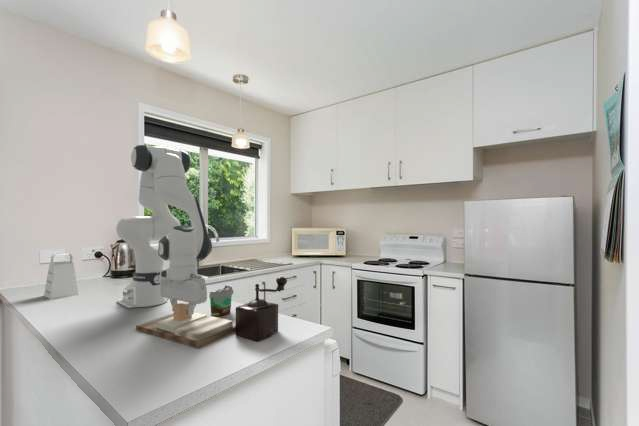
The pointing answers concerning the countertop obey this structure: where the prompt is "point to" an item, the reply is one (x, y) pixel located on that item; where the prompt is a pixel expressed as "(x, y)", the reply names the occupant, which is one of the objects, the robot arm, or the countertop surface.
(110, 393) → the countertop surface
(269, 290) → the manual coffee grinder
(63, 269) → the grater
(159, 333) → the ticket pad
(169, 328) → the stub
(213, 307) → the food container
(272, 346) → the countertop surface
